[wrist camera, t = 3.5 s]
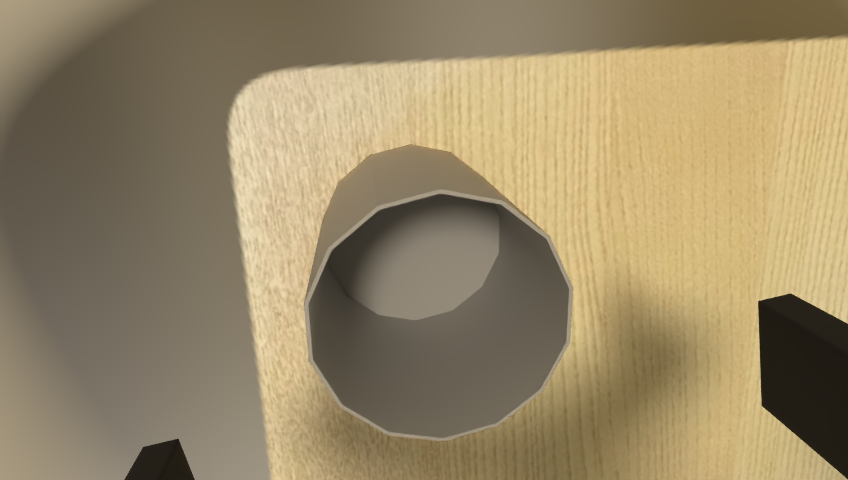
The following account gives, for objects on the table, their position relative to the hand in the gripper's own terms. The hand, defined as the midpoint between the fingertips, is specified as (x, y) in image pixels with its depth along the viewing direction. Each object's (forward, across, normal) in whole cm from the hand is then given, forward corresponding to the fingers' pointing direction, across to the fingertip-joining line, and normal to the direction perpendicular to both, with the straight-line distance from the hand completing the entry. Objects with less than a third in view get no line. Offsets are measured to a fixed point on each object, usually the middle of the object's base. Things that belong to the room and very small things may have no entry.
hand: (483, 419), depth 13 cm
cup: (+15, 0, 0) cm, 15 cm away
